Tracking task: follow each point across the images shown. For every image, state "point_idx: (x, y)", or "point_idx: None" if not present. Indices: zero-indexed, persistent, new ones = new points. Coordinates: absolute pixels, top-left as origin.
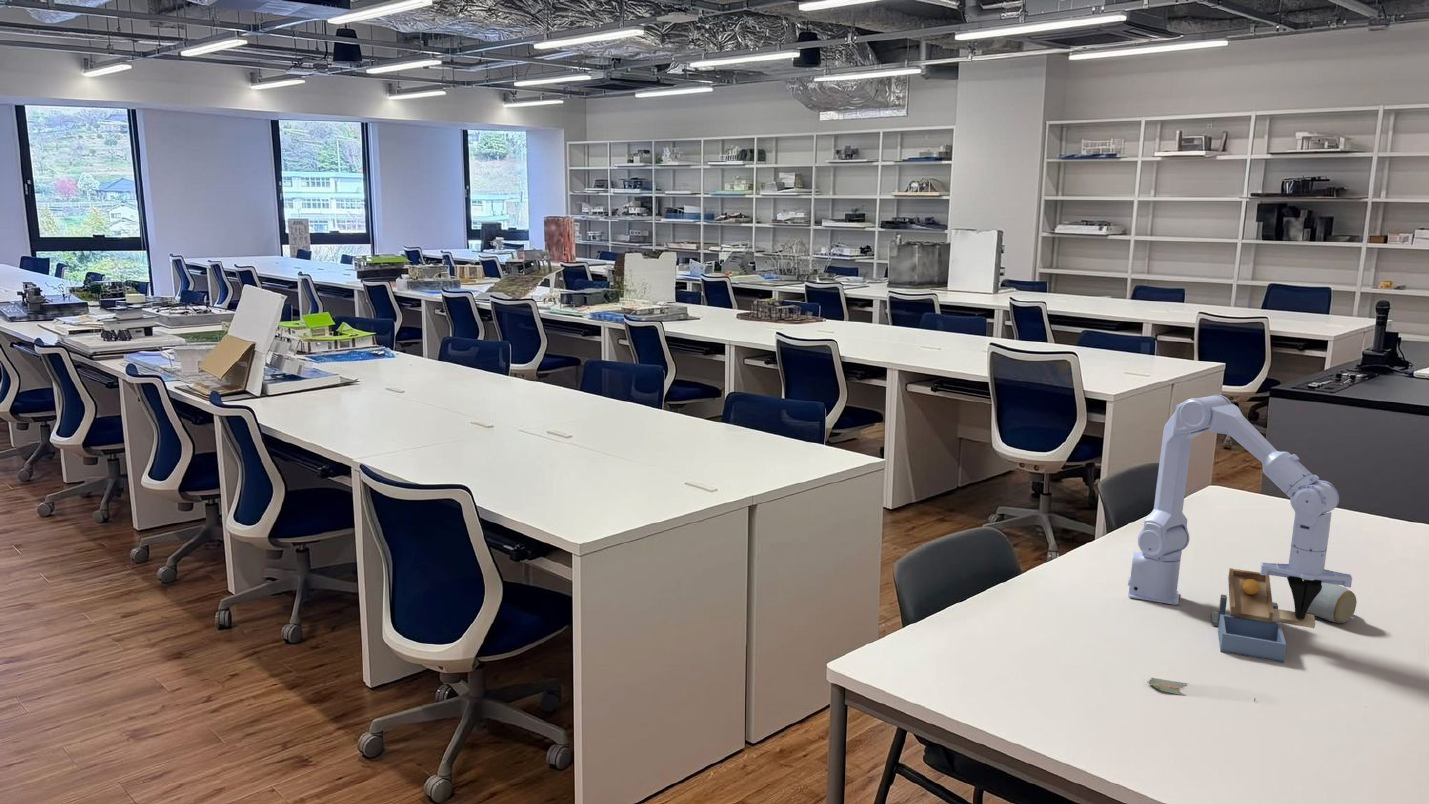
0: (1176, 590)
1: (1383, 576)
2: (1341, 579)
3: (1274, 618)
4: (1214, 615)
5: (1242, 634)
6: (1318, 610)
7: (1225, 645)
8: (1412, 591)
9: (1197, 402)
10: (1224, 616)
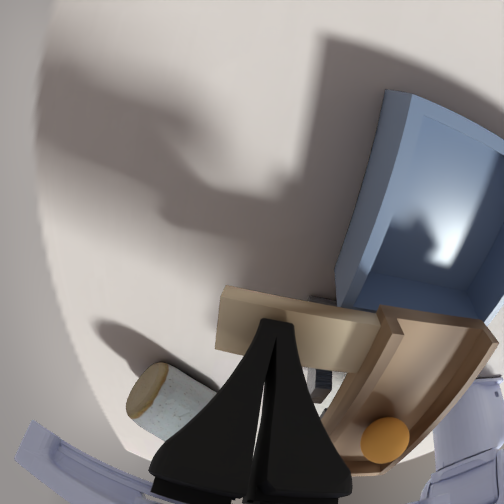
0: None
1: (130, 426)
2: (50, 472)
3: (371, 321)
4: None
5: (426, 283)
6: (193, 389)
7: None
8: (103, 406)
9: None
10: None
